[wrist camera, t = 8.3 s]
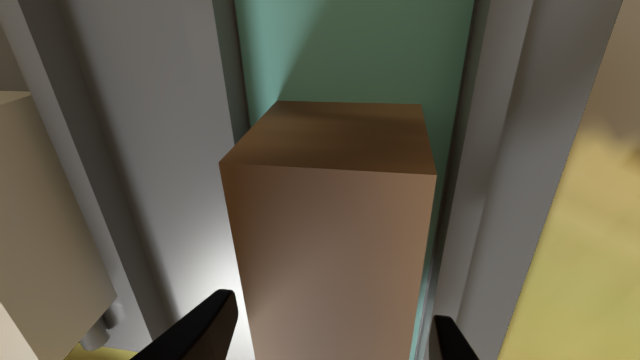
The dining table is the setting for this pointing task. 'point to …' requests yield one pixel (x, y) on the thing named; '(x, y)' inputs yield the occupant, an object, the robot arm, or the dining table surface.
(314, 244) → the walnut plug
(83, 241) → the off-white plug
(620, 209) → the dining table surface
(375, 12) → the grooved grey tray
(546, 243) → the dining table surface
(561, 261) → the dining table surface
